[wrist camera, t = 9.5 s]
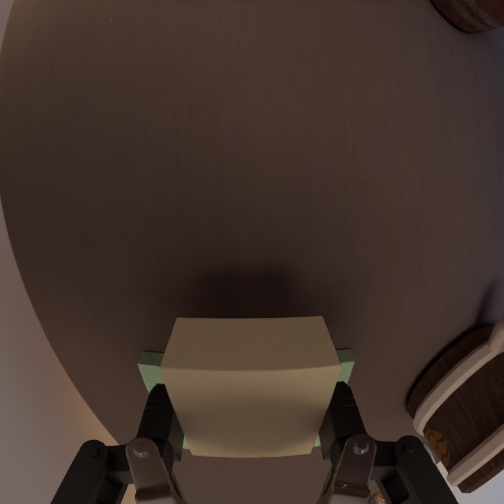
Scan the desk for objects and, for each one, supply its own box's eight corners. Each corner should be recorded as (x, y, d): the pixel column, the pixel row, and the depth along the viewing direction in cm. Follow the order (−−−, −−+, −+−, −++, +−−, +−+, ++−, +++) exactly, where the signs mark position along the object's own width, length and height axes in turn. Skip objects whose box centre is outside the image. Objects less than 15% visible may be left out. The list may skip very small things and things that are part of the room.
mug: (473, 389, 25) (515, 458, 11) (390, 426, 25) (424, 519, 12) (523, 268, 18) (606, 339, 4) (434, 299, 18) (542, 433, 4)
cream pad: (203, 433, 14) (199, 471, 12) (176, 316, 11) (158, 368, 8) (297, 431, 14) (303, 470, 12) (322, 315, 11) (342, 365, 8)
